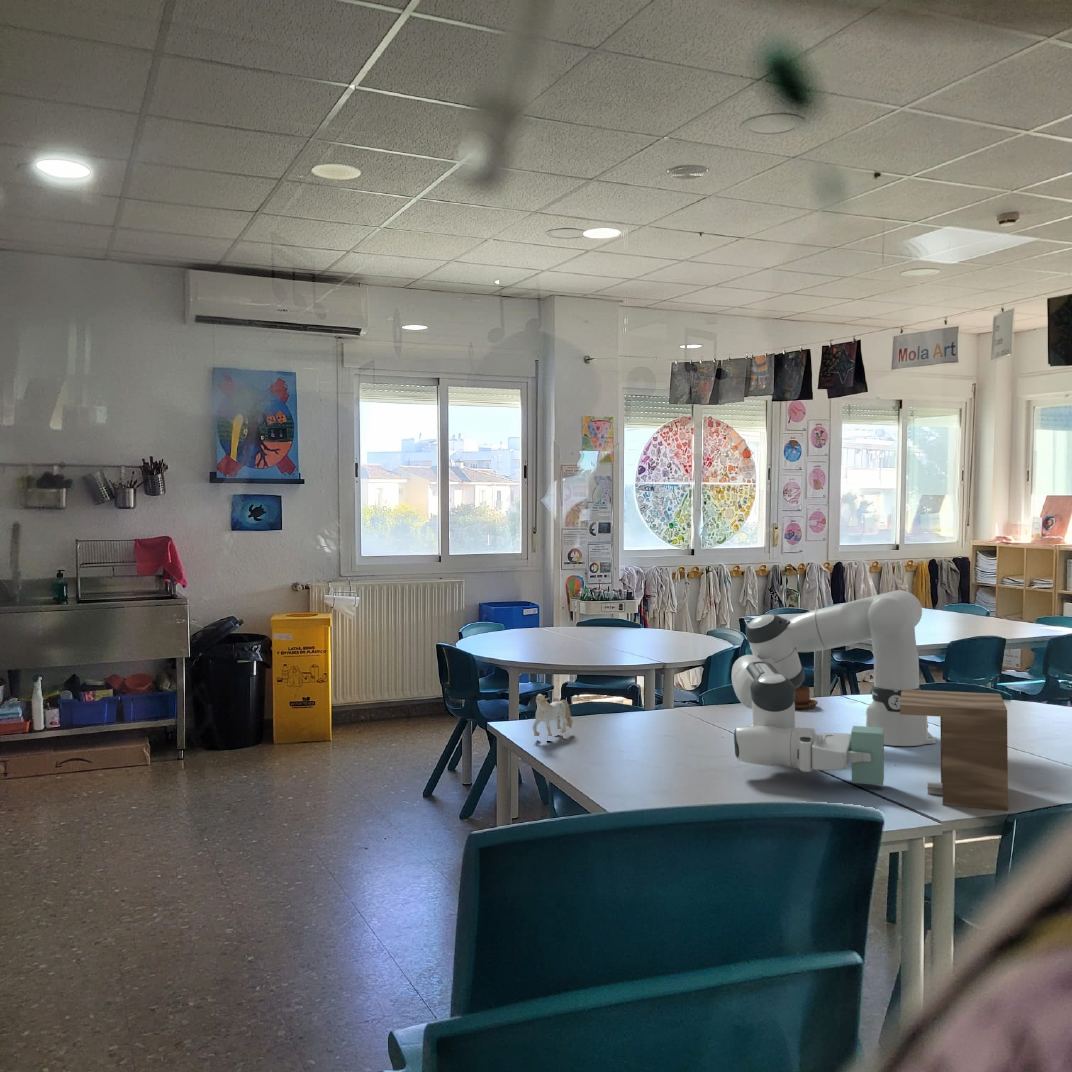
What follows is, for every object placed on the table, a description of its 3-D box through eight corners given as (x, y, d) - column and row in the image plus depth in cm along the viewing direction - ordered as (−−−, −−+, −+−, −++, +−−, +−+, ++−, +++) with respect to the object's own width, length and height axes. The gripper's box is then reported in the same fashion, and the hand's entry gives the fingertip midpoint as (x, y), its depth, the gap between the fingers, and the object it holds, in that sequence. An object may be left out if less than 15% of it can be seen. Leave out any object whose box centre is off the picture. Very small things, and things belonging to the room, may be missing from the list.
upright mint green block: (853, 775, 219) (853, 725, 219) (884, 777, 217) (883, 727, 217) (851, 782, 213) (851, 731, 213) (883, 785, 211) (882, 733, 211)
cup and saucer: (780, 703, 314) (780, 683, 314) (819, 705, 309) (819, 685, 309) (774, 710, 303) (774, 689, 303) (815, 712, 298) (814, 692, 298)
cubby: (902, 778, 221) (901, 689, 221) (1000, 785, 214) (1000, 693, 214) (900, 801, 204) (899, 704, 203) (1007, 810, 196) (1007, 710, 196)
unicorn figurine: (524, 747, 257) (523, 696, 257) (549, 732, 275) (549, 684, 275) (550, 749, 255) (549, 697, 254) (574, 733, 273) (573, 685, 273)
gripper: (811, 751, 229) (874, 756, 224) (801, 773, 210) (870, 778, 205) (810, 724, 229) (873, 728, 224) (801, 744, 210) (869, 748, 205)
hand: (872, 752), depth 215 cm, fingers closed on upright mint green block, 6 cm apart
